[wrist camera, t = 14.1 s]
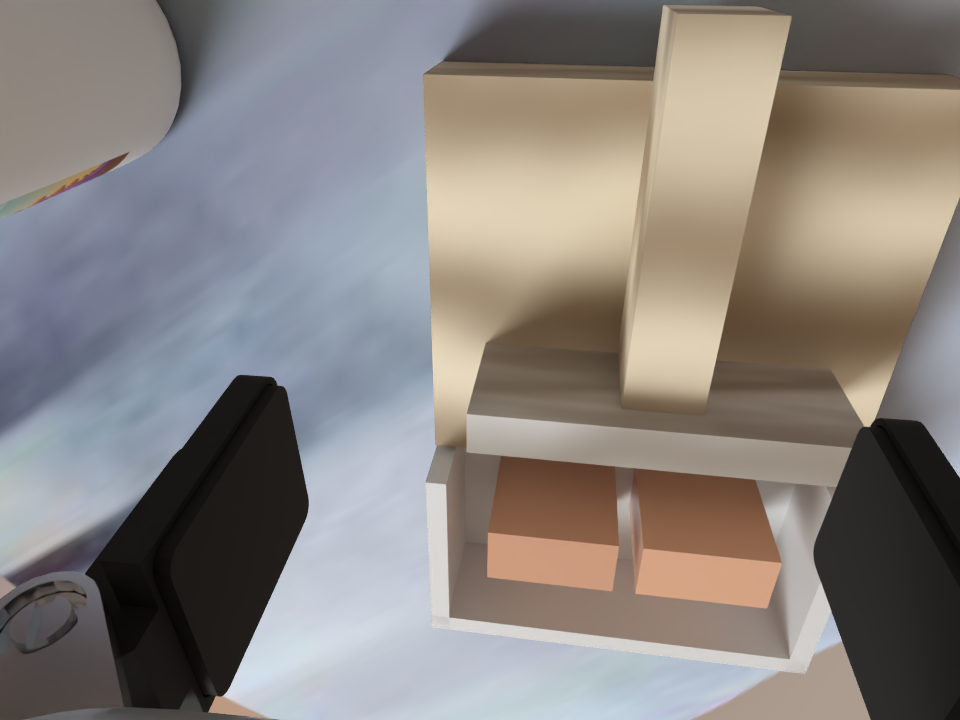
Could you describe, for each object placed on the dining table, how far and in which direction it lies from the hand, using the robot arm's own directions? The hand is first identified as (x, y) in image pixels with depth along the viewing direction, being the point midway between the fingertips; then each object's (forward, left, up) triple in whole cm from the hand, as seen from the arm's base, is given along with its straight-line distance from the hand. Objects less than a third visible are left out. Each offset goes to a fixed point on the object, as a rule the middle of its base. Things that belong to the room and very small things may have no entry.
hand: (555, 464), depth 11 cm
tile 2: (+12, 0, -12) cm, 17 cm away
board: (+3, +3, -15) cm, 16 cm away
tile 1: (+12, +6, -12) cm, 18 cm away
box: (+14, +3, -15) cm, 21 cm away
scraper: (-1, +3, -12) cm, 13 cm away
